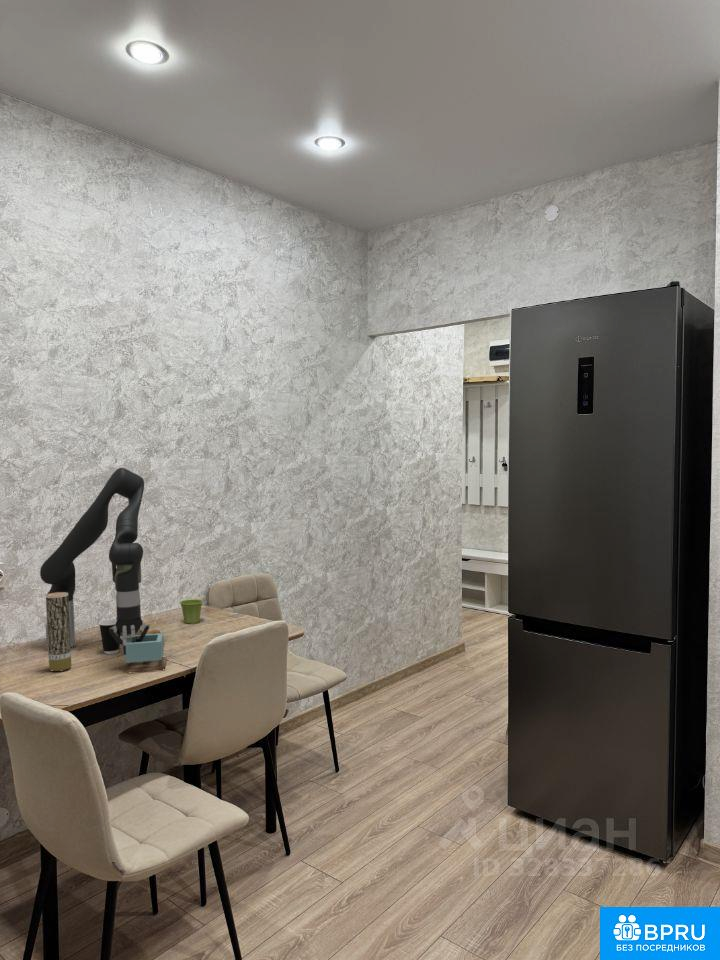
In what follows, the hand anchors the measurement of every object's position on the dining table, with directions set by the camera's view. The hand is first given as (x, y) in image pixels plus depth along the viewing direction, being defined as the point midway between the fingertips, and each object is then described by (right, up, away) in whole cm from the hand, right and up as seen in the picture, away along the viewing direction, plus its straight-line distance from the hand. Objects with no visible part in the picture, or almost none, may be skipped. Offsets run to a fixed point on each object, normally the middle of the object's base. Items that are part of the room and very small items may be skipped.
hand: (130, 655), depth 232 cm
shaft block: (+5, -4, +1) cm, 7 cm away
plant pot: (+6, -1, +60) cm, 60 cm away
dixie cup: (-13, -4, +19) cm, 23 cm away
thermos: (-15, -3, +45) cm, 47 cm away
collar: (+5, -1, +1) cm, 5 cm away
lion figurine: (-1, -3, +20) cm, 21 cm away
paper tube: (-23, -5, 0) cm, 24 cm away
